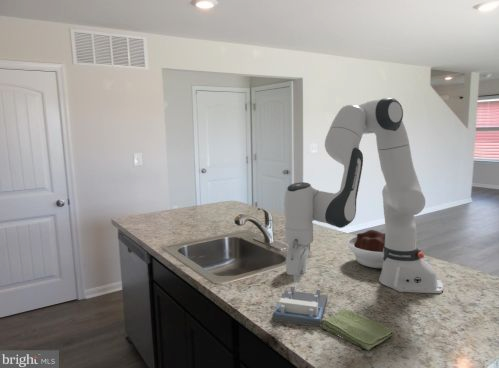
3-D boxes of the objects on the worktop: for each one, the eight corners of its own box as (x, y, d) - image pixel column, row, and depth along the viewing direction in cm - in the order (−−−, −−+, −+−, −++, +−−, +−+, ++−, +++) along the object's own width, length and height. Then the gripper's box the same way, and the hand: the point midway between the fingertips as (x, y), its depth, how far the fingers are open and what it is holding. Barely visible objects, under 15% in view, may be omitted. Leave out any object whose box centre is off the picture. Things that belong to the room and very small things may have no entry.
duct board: (327, 300, 129) (327, 288, 129) (320, 326, 112) (320, 312, 112) (285, 295, 134) (285, 283, 133) (272, 319, 117) (272, 306, 116)
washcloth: (369, 355, 99) (370, 343, 98) (318, 328, 112) (318, 318, 112) (395, 337, 107) (396, 326, 106) (344, 314, 120) (345, 305, 120)
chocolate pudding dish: (403, 256, 172) (404, 225, 169) (411, 277, 148) (412, 241, 146) (347, 253, 178) (348, 222, 176) (346, 272, 155) (347, 237, 152)
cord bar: (318, 311, 118) (318, 302, 117) (316, 316, 115) (316, 306, 114) (281, 306, 121) (281, 297, 121) (278, 310, 119) (278, 301, 118)
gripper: (302, 246, 104) (302, 293, 106) (313, 227, 123) (313, 267, 125) (280, 244, 106) (281, 290, 108) (295, 226, 125) (294, 265, 127)
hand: (298, 278), depth 117 cm, fingers open, 4 cm apart
